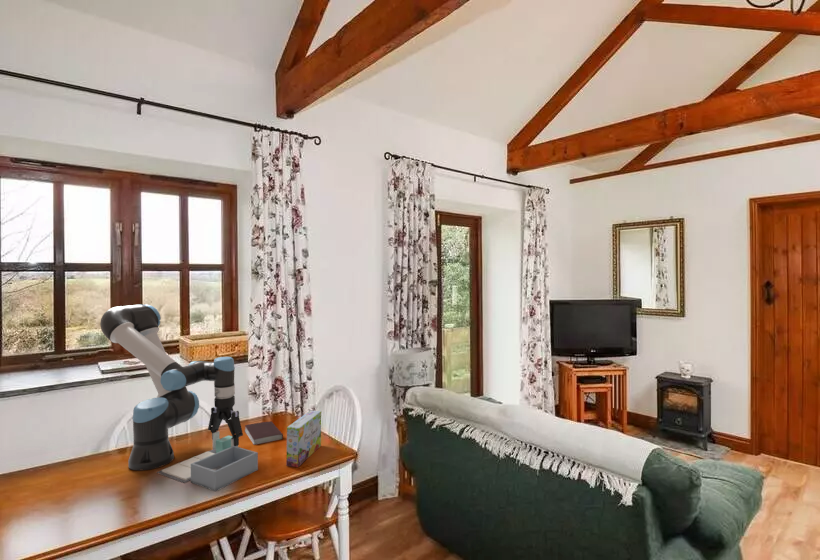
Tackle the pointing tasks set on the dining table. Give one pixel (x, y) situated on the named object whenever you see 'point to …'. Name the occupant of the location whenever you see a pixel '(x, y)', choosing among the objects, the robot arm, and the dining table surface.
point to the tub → (224, 467)
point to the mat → (177, 477)
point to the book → (263, 432)
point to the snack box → (303, 438)
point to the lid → (184, 468)
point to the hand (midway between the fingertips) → (225, 450)
